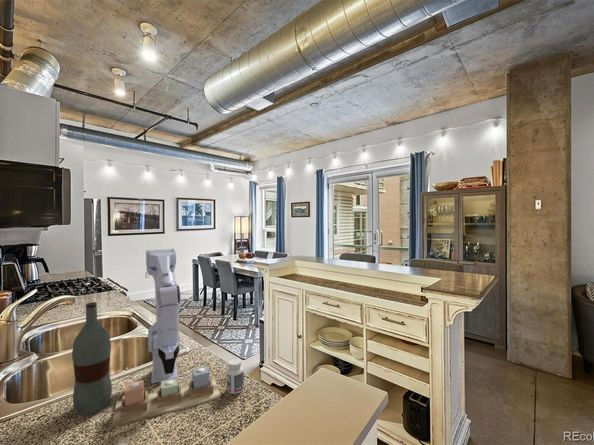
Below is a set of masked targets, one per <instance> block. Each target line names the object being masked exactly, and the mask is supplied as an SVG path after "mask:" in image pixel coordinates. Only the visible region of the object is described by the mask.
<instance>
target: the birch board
mask: <svg viewBox="0 0 594 445" xmlns="http://www.w3.org/2000/svg"><path fill="white" fill-rule="evenodd" d="M177 384H178V394H174V395H170V396H166V397H162V398H161V386H160V387H157V388H156V389H157V391H156V392H151V393H149V390H148V389H147V390H144V400H143V402H142V403H138V404H134V405H130V406H126V407H125V395H122V399H121V400H118V401H116V404H115V407H114V412H113V417H112V422H111V428H116V427H118V426H119V427H120V426H123V425H127V424H130V423H135V422H137V421H141V420H144V419H148V418H151V417H152V418H153V417H156V416H159V415H160V416H161V415H163V414H168V413H170V412H174V411H177V410H178V411H179V410H182V409H186V408H190V407H194V406H196V405H200V404H204V403H208V402H213V401H215V400H219V399H221V398H222V395H221V392H220V390H219V387H218V385H217V382H216V378H212V377H211V375H209V386H206V387H202V388H198V389H194V387H193V379H191V380H188V384H185V385H181V382H177Z"/></svg>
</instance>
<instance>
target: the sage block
mask: <svg viewBox="0 0 594 445" xmlns="http://www.w3.org/2000/svg"><path fill="white" fill-rule="evenodd" d="M177 383H178V377H177V378H174V379H170V380H165V381H161V382H160V387H161V398H162V397H166V396H170V395H174V394H178V384H177Z"/></svg>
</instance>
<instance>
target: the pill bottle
mask: <svg viewBox="0 0 594 445" xmlns="http://www.w3.org/2000/svg"><path fill="white" fill-rule="evenodd" d="M227 366H228V368H227V369H226V392H227V393H228V394H231V395H236V394H240V393H241V392H243V391H244V388H245V385H244V380H245V379H244V373H245V372H244V367H243V366H242V360H241V359H239V358H233V359H230V360H228V363H227Z"/></svg>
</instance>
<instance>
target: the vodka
mask: <svg viewBox="0 0 594 445" xmlns="http://www.w3.org/2000/svg"><path fill="white" fill-rule="evenodd" d="M97 304H98V302H96V301H93V302H91V301H90V302H87V303H85V324H84V325H83V327H82V328H81V329H80V331H79V332H78V334H77V336H76V337H75V338H74V341H73V345H72V352H71V358H72V364H73V371H74V372H73V373H74V387H73V392H72V393H73V394H72V405H73V409H74V412H75V414H76V415H77V416H82V417H84V416H85V417H86V416H91V415H94V414H97V413H99V412H102V411H103V410H104V409H107V407H109V405H110V403H111V399H112V390H113V388H112V380H111V375H110V362H111V351H112V344H111V337H110V334H109V332H108V331H107V330H106V329H105V327H104V326H103V325H102V324H101V323H100V321H98V308H97V306H98V305H97Z"/></svg>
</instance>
